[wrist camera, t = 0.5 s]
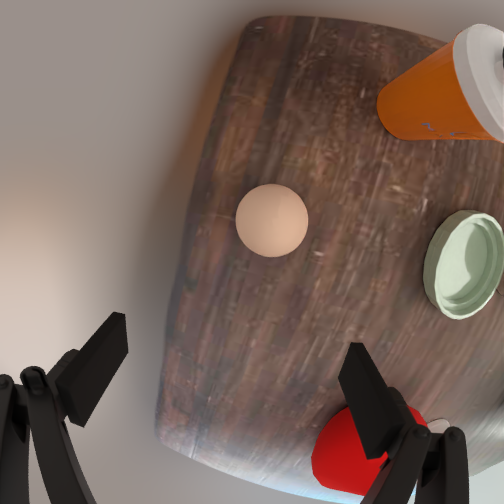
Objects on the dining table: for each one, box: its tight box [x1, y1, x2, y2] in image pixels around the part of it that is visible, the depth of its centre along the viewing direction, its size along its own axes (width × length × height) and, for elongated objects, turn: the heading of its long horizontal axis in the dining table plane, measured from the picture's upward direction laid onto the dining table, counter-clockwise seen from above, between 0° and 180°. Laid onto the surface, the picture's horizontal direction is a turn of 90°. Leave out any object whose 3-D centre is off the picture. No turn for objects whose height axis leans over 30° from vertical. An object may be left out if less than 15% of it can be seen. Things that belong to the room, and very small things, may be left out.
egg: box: [236, 184, 308, 257], centre depth 26 cm, size 7×7×8 cm
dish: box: [423, 210, 504, 319], centre depth 29 cm, size 14×14×4 cm
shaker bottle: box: [377, 24, 504, 144], centre depth 17 cm, size 9×9×20 cm
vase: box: [311, 405, 428, 496], centre depth 29 cm, size 18×18×19 cm
